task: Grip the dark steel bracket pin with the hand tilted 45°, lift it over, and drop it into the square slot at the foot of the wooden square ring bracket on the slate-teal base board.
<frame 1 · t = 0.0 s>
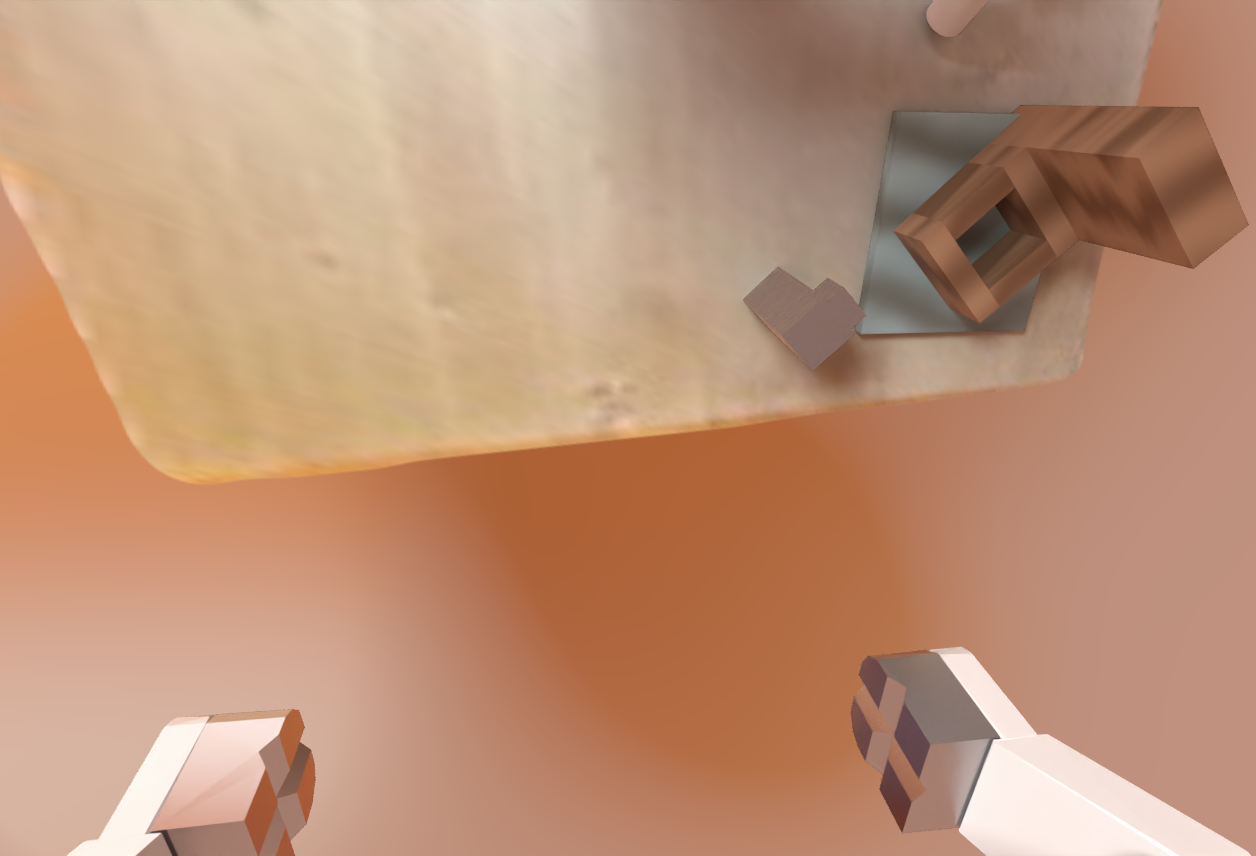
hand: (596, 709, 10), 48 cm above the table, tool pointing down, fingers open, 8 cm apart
bracket pin: (774, 299, 58), on the table
wooden square ring bracket: (959, 228, 57), on the table
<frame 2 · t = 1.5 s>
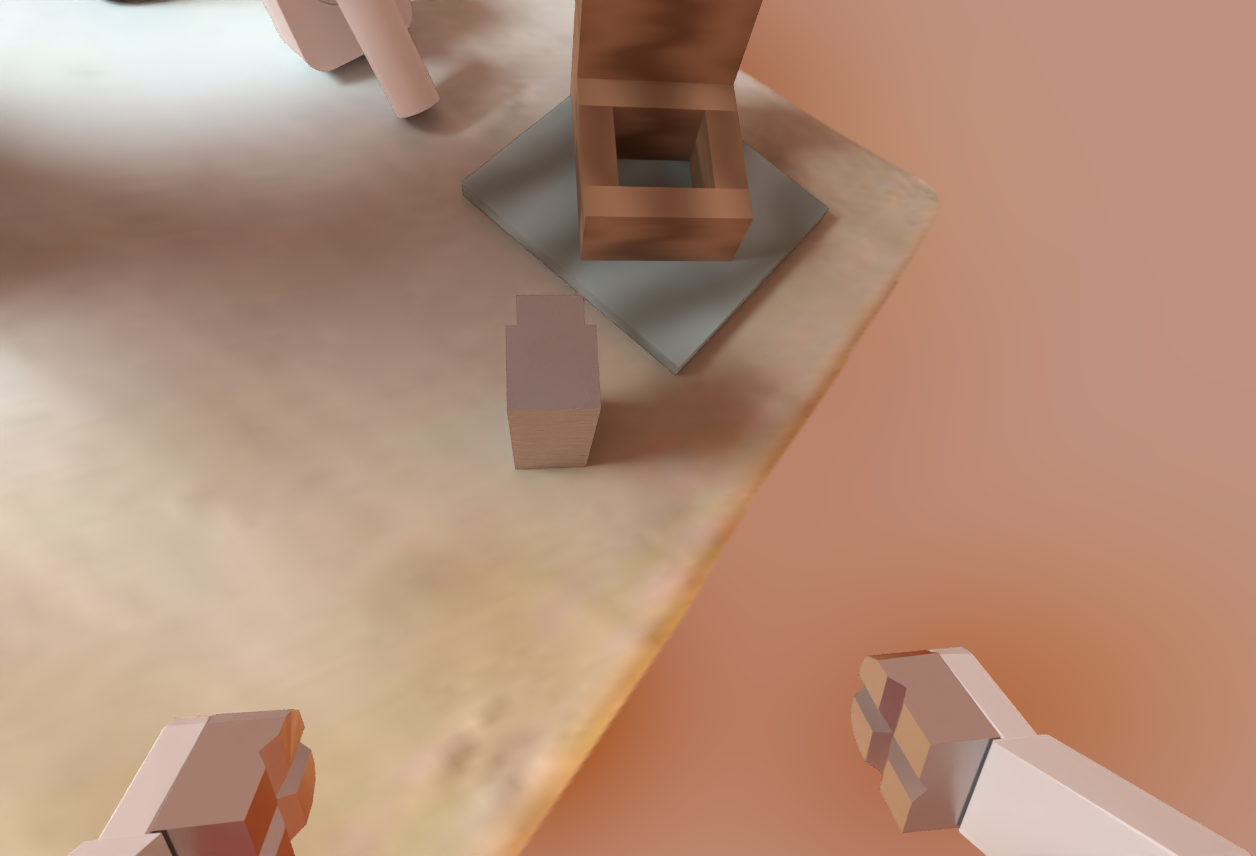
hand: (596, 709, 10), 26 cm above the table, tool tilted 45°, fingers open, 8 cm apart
wall hook: (378, 72, 45), on the table
bracket pin: (549, 434, 38), on the table
wooden square ring bracket: (648, 207, 44), on the table
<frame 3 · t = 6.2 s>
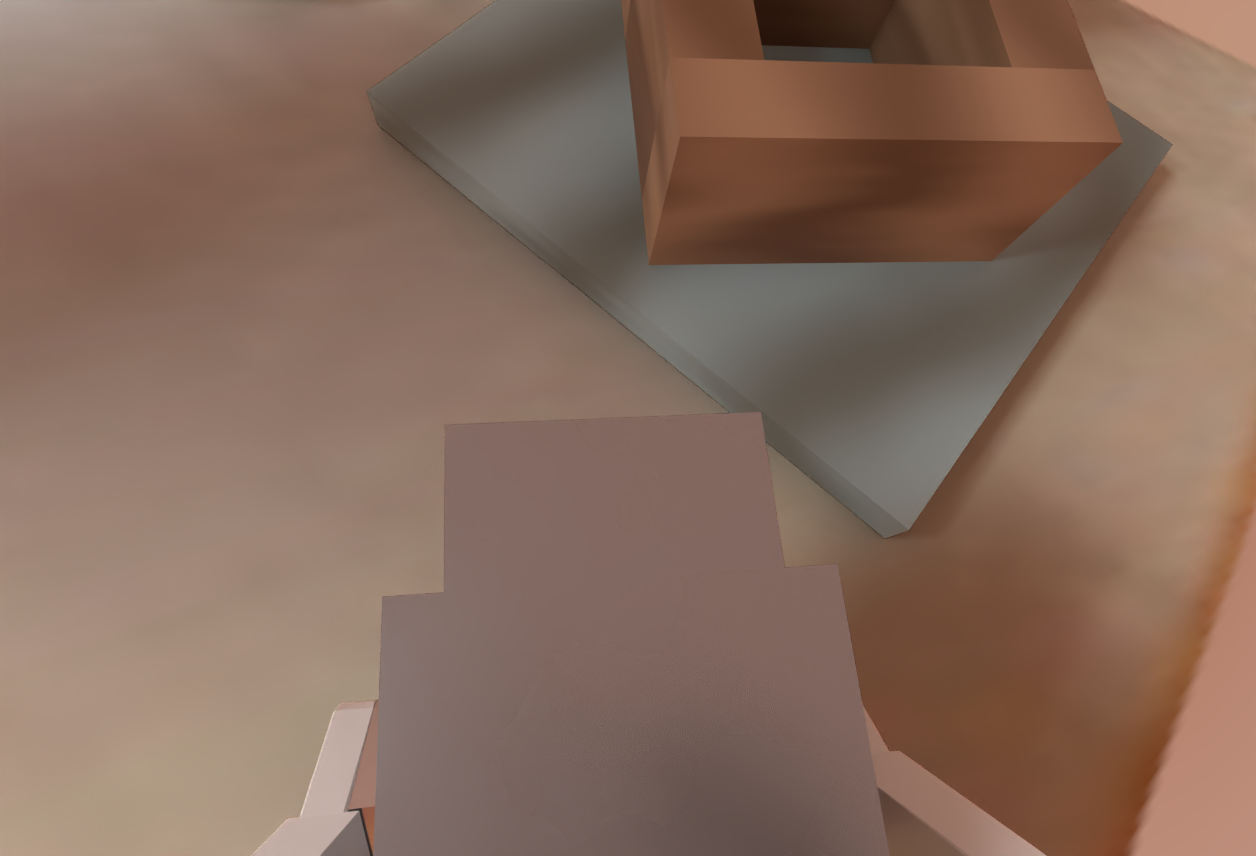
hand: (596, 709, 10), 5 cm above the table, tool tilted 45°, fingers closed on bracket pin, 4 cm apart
bracket pin: (583, 721, 15), on the table, touching gripper
wooden square ring bracket: (783, 149, 20), on the table
when the fingers open (9 cm above the table, at t = 12.2 s): bracket pin drops 2 cm, resting on wooden square ring bracket.
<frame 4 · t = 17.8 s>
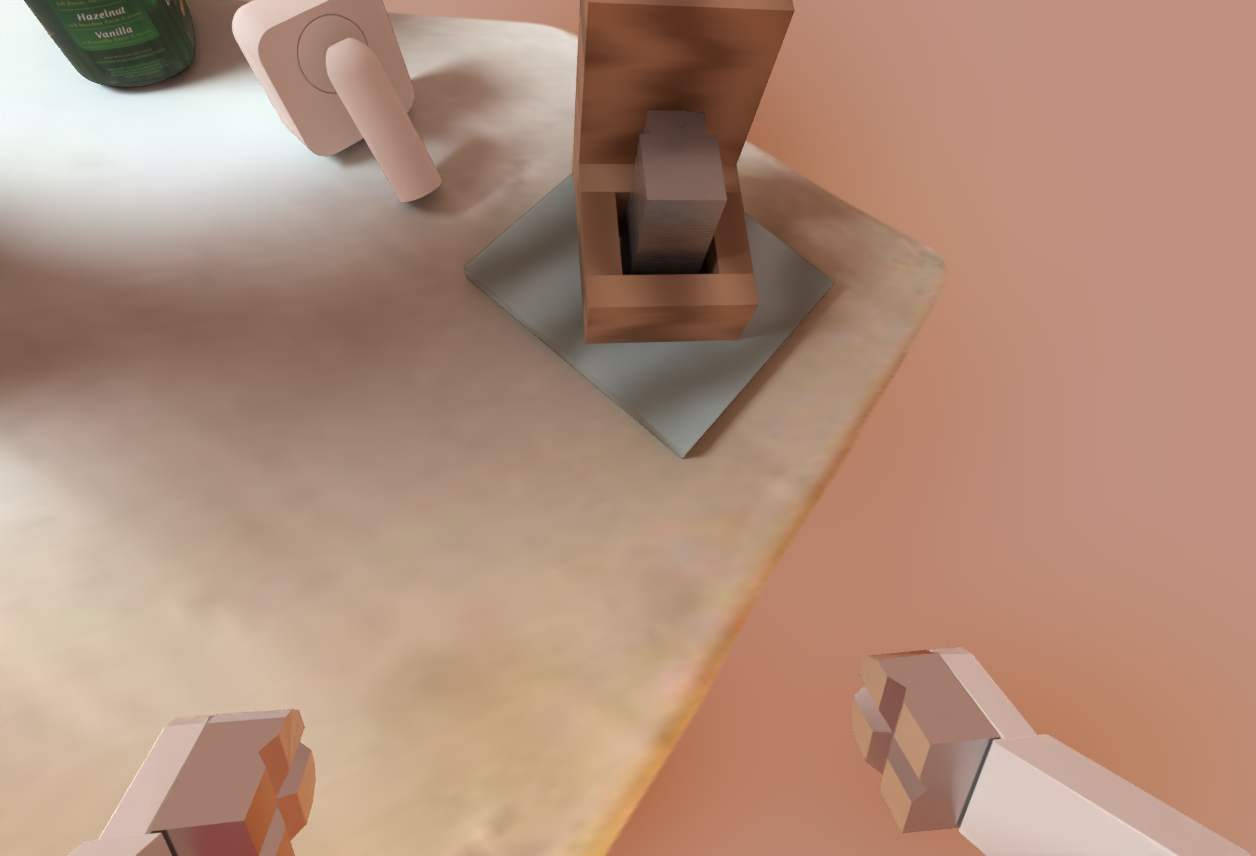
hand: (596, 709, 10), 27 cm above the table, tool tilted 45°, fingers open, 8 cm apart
coffee jar: (140, 41, 46), on the table
wall hook: (380, 153, 45), on the table
bracket pin: (653, 274, 43), point 1 cm above the table, touching wooden square ring bracket
wooden square ring bracket: (652, 284, 44), on the table
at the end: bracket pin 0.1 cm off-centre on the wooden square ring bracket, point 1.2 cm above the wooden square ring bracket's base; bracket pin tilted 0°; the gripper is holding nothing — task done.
